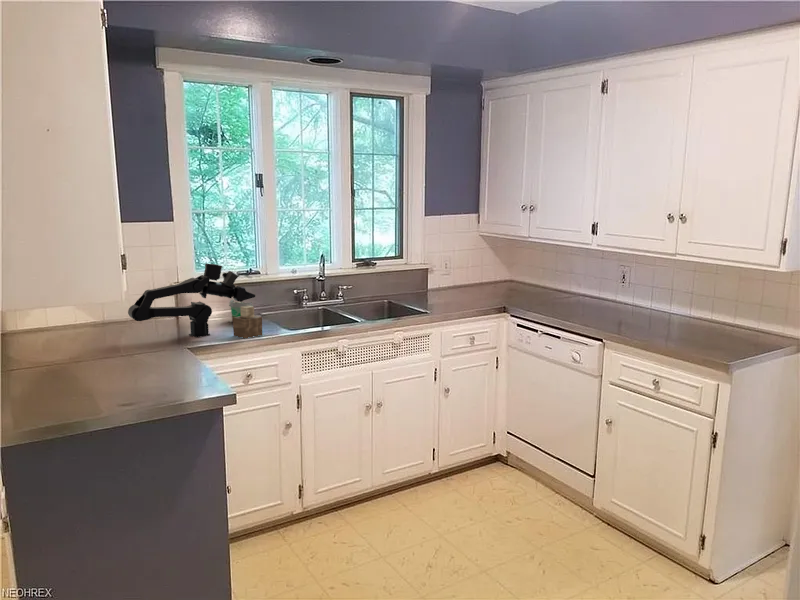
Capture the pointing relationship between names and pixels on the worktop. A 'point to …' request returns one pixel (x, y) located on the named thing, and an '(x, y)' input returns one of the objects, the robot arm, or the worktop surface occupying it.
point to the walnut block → (247, 326)
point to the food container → (237, 307)
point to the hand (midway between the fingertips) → (250, 294)
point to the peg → (247, 312)
